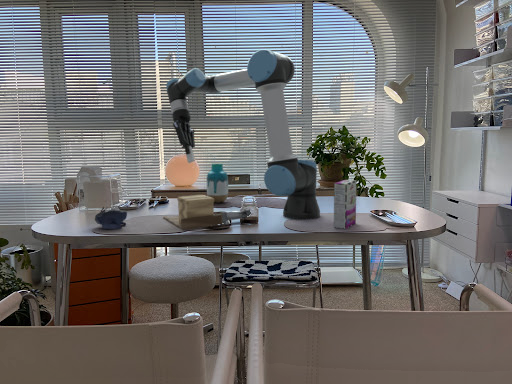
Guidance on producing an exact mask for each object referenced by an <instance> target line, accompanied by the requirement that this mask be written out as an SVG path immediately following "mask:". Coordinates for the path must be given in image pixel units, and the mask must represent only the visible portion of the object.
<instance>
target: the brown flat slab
mask: <svg viewBox="0 0 512 384" xmlns="http://www.w3.org/2000/svg"><path fill="white" fill-rule="evenodd" d="M163 219H164V220H166V221H168V222H169V223H170V224H172V225H173V226H175V227H177V228H178V229H180V230H182V231H184V230H186V231H187V230H188V231H191V230H195V229H196V230H199V229H203V228H204V229H207V228H208V227H209V226H210V225H217V224H222V219H221V214H220V213H217V214H214V215H208V216H199V217H190V218H181V224H180V223H179V215H178V216H167V215H165V216H163ZM222 225H223V224H222ZM210 227H211V226H210ZM210 227H209V228H210Z"/></svg>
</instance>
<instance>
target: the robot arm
mask: <svg viewBox="0 0 512 384" xmlns="http://www.w3.org/2000/svg"><path fill="white" fill-rule="evenodd" d="M295 68H296V67H295V64H294V61H293V60H292V59H291V58H290V57H289V56H287V55H285V54H282V53H278V52H275V51H273V50H270V49H259V50H257V51H255V52H253V53H252V55H250V58H249V59H248V61H247V65H246V68H245V69H240V70H235V71H234V70H233V71H229V72H223V73H220V74H214V75H205V73H204V72H203V71H202V70H200V69H199V68H198V67H197V68H196V67H194V68H192V69H190V70H189V71H187V72H186V74H184V75H183V76H182V77H181V78H172V79H169V80H168V81H167V82H166V85H165V87H166V93H167V97H168V101H169V105H170V112H171V114H172V115H171V116H172V120H173V123H172V126H173V128H174V130H175V133H176V136H177V138H178V141H179V144H180V146H181V148H182V149H184V151H185V155H186V160H187V163H189V164H191V163H193V162H195V160H196V159H195V154H194V150H193V149H194V148H195V147H196V142H195V129H192V128H191V124H190V121H191V114H190V113H191V112H190V110H189V109H190V108H189V105H188V100H187V97H189V96H190V95H191V94H193V93H194V92H196V93H204V94H205V93H206V94H212V95H216V94H217V95H218V94H220V93H221V92H225V91H232V90H238V89H239V90H240V89H247V88H253V87H255V91H256V92H257V93H259V94H260V97H261V98H260V99H261V105H262V111H263V117H264V124H265V131H266V132H265V133H266V137H267V144H268V149H269V150H268V151H269V159H268V160H267V162H266V164H267V169H266V172H265V173H264V176H263V181H264V185H265V187H266V189H267V191H269V192H270V193H271V194H272V195H274V196H278V197H286V198H287V199H286V200H285V203H284V207H283V210H282V211H283V212H282V213H283V214H282V216H283V218H286V219H290V220H314V218H315V219H319V218H320V217H321V210H320V206H319V204H318V200H317V171H318V169H317V163H316V161H315V160H310V159H298V156H296V155H295V154H294V153H293V147H292V139H291V133H290V127H289V120H288V114H287V107H286V100H285V92H284V90H285V88H286V87H287V84H288V83H290V82H291V81H292V80H293V78H294V76H295V71H296V70H295Z"/></svg>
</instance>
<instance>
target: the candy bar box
mask: <svg viewBox="0 0 512 384" xmlns="http://www.w3.org/2000/svg"><path fill="white" fill-rule="evenodd" d="M333 188H334V189H333V228H334V227H336V228H335V229H340V228H344V229H343V230H346V229H349V228H350V227H352V226H354V225H355V224H356V222H357V220H356V218H357V180H354V179H344V180H340V181H338V182H335V183H333ZM351 225H352V226H351ZM348 227H349V228H348Z"/></svg>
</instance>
